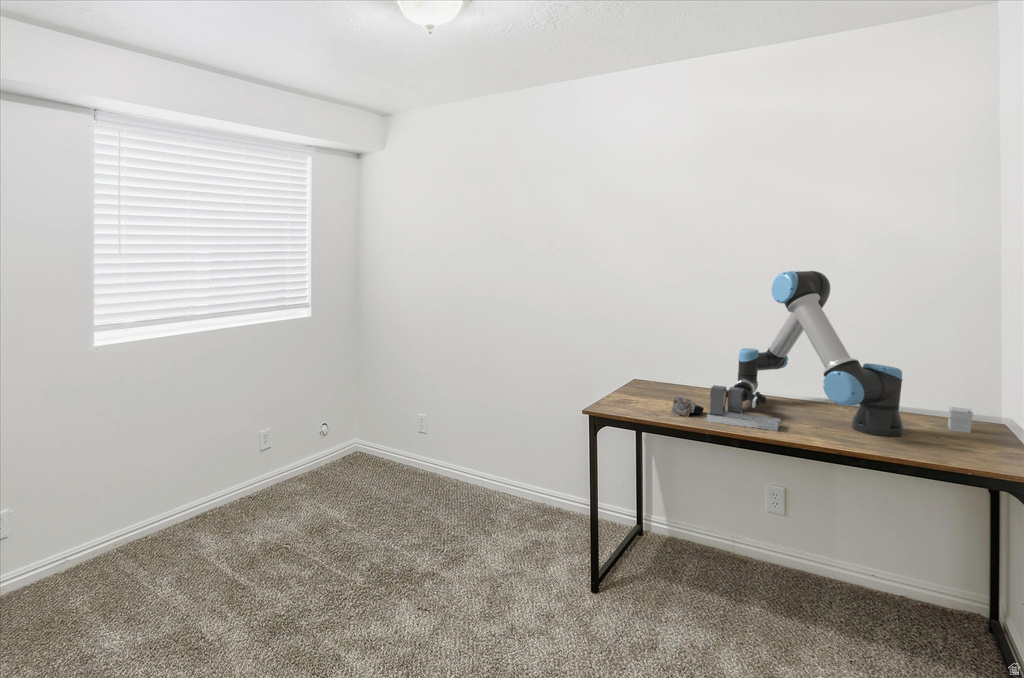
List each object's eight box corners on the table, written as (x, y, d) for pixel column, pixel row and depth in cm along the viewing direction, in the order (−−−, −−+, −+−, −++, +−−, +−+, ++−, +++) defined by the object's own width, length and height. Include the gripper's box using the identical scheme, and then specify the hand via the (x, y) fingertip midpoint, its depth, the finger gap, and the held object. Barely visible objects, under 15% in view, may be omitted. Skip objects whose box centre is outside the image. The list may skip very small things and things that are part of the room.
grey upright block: (741, 416, 217) (743, 388, 215) (739, 419, 213) (741, 390, 212) (728, 414, 219) (730, 386, 218) (726, 417, 216) (728, 389, 214)
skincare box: (947, 426, 204) (949, 406, 203) (968, 429, 201) (971, 408, 200) (948, 430, 199) (951, 410, 198) (971, 433, 196) (973, 412, 195)
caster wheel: (700, 417, 224) (700, 421, 215) (672, 409, 227) (670, 412, 218) (705, 401, 224) (705, 404, 214) (676, 393, 227) (675, 395, 218)
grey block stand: (779, 425, 205) (782, 391, 203) (777, 431, 198) (779, 396, 197) (710, 416, 217) (712, 384, 215) (706, 421, 210) (708, 388, 209)
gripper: (776, 403, 225) (769, 416, 207) (710, 395, 238) (699, 407, 220) (777, 384, 224) (770, 396, 206) (711, 378, 237) (700, 388, 219)
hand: (734, 401), depth 213 cm, fingers open, 13 cm apart
